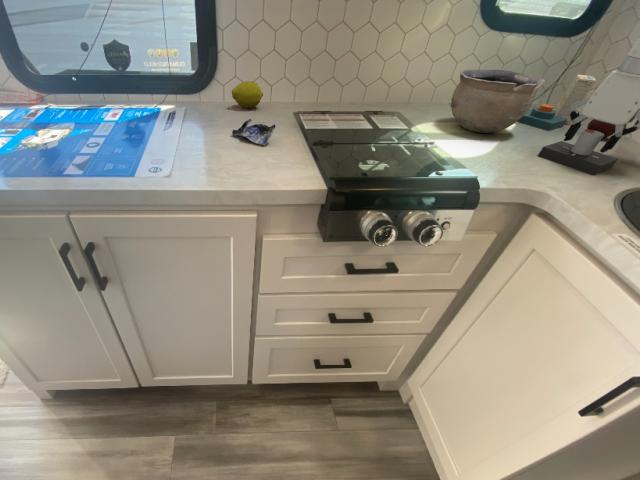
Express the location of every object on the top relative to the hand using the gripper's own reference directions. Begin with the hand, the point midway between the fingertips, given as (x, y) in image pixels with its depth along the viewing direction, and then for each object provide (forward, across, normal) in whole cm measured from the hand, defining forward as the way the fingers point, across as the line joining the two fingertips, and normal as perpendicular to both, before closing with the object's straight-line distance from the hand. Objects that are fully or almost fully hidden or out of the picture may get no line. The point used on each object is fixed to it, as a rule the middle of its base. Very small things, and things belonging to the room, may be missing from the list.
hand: (585, 145), depth 91 cm
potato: (+4, +7, -30) cm, 31 cm away
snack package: (+5, +53, +71) cm, 89 cm away
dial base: (+4, 0, 0) cm, 4 cm away
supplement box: (+4, +21, -37) cm, 43 cm away
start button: (+1, +23, -26) cm, 35 cm away
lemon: (+5, +79, +57) cm, 98 cm away
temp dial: (+2, 0, 0) cm, 2 cm away
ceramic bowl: (+5, +29, 0) cm, 29 cm away
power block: (+4, +23, -26) cm, 35 cm away
